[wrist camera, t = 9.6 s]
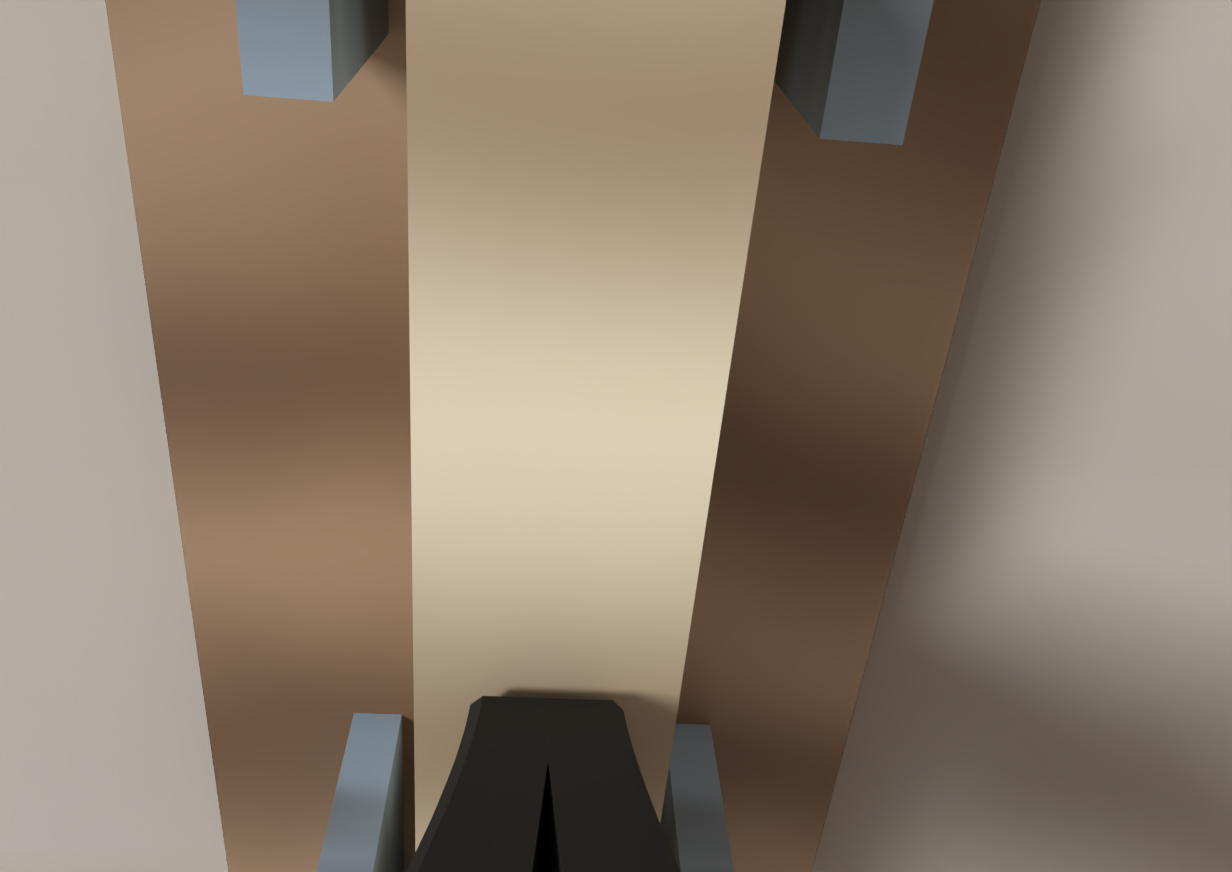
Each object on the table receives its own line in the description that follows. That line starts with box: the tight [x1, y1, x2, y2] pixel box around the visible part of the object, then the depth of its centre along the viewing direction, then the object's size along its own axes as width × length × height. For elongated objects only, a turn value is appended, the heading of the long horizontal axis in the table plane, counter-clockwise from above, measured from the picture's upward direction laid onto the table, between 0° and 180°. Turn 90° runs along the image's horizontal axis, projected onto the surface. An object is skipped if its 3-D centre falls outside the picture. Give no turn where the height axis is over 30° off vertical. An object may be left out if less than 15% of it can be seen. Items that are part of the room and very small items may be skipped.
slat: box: [406, 0, 786, 852], centre depth 13 cm, size 16×2×6 cm, turn 175°
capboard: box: [105, 0, 1041, 872], centre depth 15 cm, size 21×11×4 cm, turn 175°
